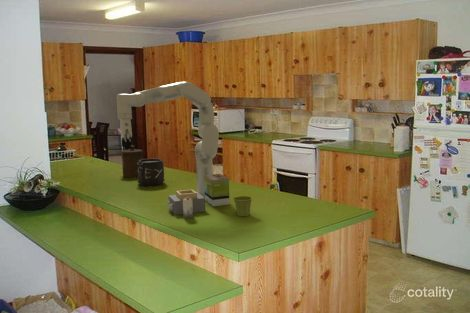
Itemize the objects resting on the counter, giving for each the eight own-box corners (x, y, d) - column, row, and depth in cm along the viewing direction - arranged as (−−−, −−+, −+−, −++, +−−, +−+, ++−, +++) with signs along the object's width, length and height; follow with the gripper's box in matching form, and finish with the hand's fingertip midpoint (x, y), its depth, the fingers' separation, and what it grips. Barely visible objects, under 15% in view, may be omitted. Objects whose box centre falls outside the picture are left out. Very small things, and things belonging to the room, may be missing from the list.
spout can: (191, 215, 251) (191, 195, 249) (194, 217, 246) (193, 197, 245) (182, 216, 249) (181, 196, 248) (184, 218, 245) (183, 198, 243)
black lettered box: (132, 186, 323) (131, 162, 320) (144, 181, 340) (142, 158, 337) (158, 187, 318) (157, 163, 316) (169, 181, 336) (167, 158, 333)
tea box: (204, 200, 281) (203, 174, 279) (221, 198, 284) (220, 173, 282) (212, 206, 267) (211, 179, 265) (230, 204, 270) (229, 177, 268)
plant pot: (229, 215, 249) (229, 198, 248) (243, 211, 256) (242, 195, 254) (243, 218, 243) (242, 201, 241) (256, 214, 249) (256, 197, 248)
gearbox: (198, 205, 271) (197, 187, 270) (205, 211, 258) (205, 193, 257) (166, 208, 265) (165, 191, 264) (171, 215, 252) (171, 196, 251)
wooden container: (131, 173, 370) (129, 143, 367) (148, 174, 364) (146, 144, 360) (118, 176, 357) (116, 146, 354) (135, 178, 351) (133, 146, 347)
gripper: (134, 117, 266) (136, 149, 269) (128, 115, 282) (130, 145, 285) (120, 117, 264) (122, 150, 266) (115, 116, 280) (117, 146, 282)
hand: (126, 147), depth 276 cm, fingers open, 9 cm apart
